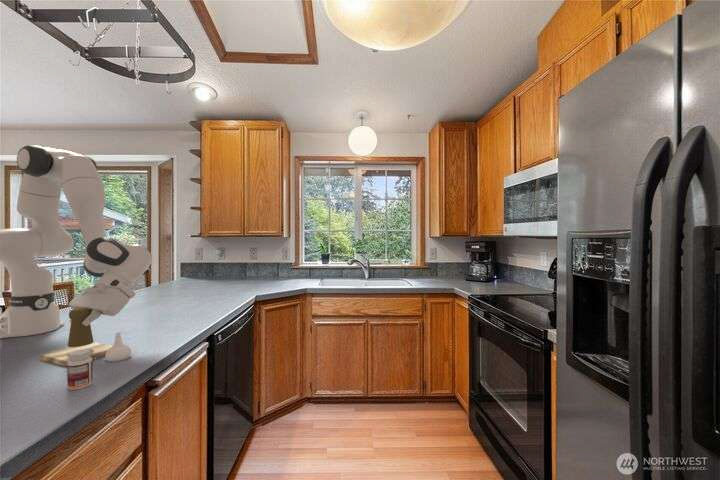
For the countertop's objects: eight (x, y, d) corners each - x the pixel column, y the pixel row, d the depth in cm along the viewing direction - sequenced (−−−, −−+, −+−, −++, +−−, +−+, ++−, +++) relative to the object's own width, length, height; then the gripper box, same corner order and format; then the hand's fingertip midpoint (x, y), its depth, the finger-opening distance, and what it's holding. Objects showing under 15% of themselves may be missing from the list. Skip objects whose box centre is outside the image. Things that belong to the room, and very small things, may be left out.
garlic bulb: (109, 357, 100) (106, 332, 99) (134, 353, 102) (131, 328, 102) (103, 365, 94) (99, 338, 94) (129, 360, 97) (125, 333, 96)
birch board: (40, 359, 97) (40, 354, 97) (90, 345, 109) (90, 341, 109) (68, 367, 91) (68, 361, 91) (118, 351, 103) (117, 346, 103)
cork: (78, 347, 96) (77, 310, 96) (62, 346, 98) (61, 309, 98) (98, 341, 102) (97, 306, 102) (83, 339, 104) (82, 305, 103)
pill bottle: (77, 381, 82) (76, 348, 82) (97, 381, 83) (97, 348, 83) (61, 390, 78) (61, 355, 78) (83, 390, 78) (82, 355, 78)
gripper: (85, 279, 110) (49, 315, 101) (125, 282, 102) (89, 321, 93) (100, 290, 114) (66, 325, 105) (139, 294, 106) (107, 333, 98)
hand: (77, 324), depth 99 cm, fingers closed on cork, 4 cm apart
